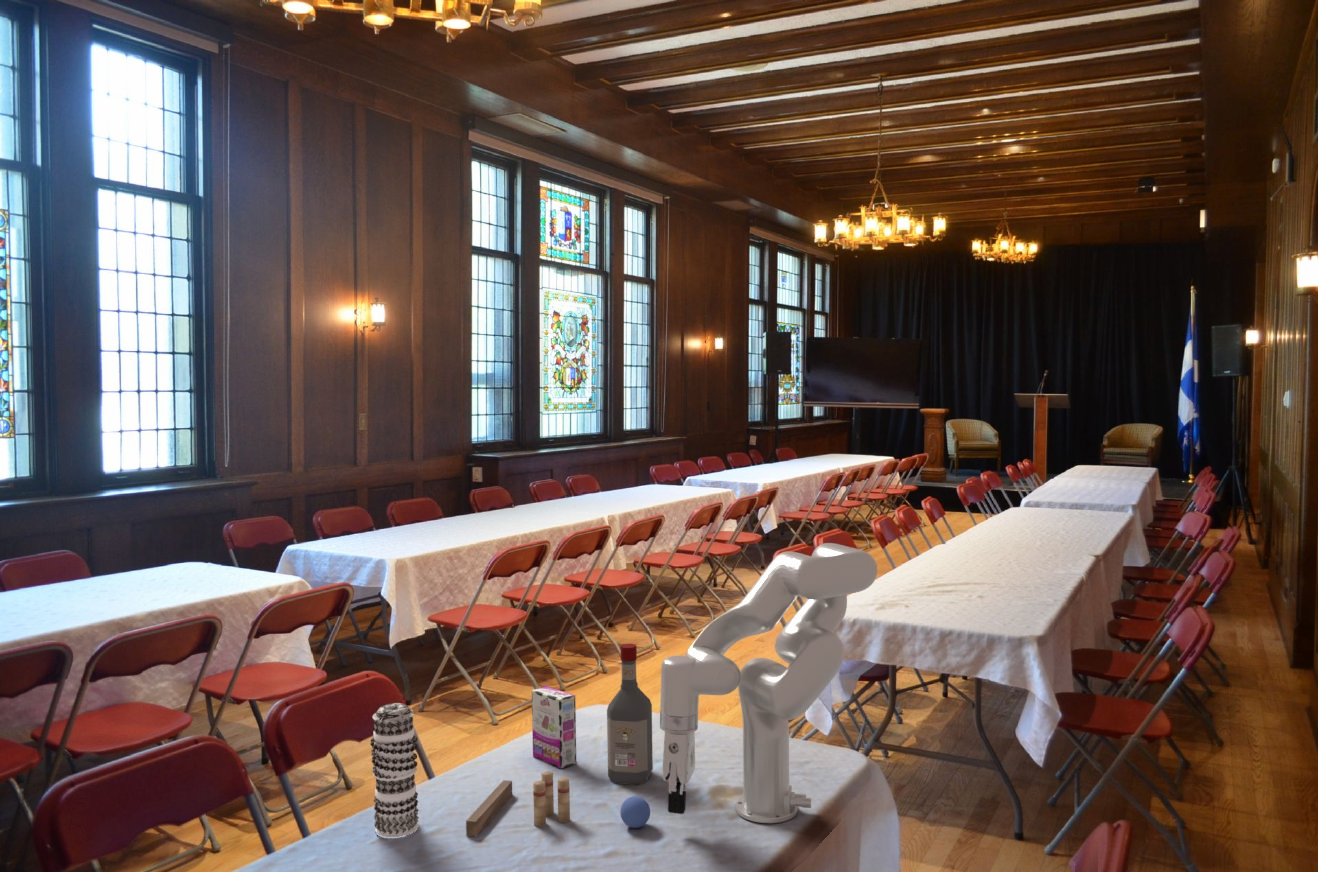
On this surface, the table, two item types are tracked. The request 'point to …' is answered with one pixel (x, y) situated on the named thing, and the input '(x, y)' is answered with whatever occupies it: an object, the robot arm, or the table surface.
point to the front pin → (563, 800)
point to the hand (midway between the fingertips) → (676, 811)
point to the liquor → (629, 727)
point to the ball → (635, 812)
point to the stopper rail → (488, 808)
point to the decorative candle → (394, 770)
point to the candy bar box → (554, 726)
